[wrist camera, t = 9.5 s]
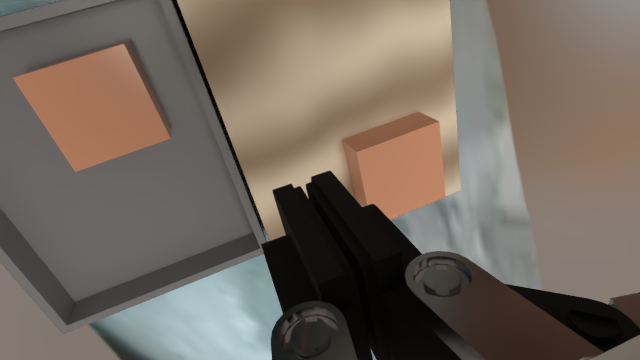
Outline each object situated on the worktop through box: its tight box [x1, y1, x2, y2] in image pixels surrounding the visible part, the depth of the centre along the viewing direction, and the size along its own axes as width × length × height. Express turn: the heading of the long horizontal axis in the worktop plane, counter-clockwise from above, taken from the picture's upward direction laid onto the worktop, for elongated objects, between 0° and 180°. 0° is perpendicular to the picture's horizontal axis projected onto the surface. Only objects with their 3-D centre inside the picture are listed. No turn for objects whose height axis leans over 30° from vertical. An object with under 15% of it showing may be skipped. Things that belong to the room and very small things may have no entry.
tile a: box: [13, 40, 172, 172], centre depth 23 cm, size 6×6×2 cm
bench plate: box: [177, 0, 461, 241], centre depth 27 cm, size 20×16×5 cm
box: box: [0, 0, 267, 334], centre depth 25 cm, size 20×16×3 cm
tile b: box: [342, 112, 446, 219], centre depth 27 cm, size 6×6×2 cm
